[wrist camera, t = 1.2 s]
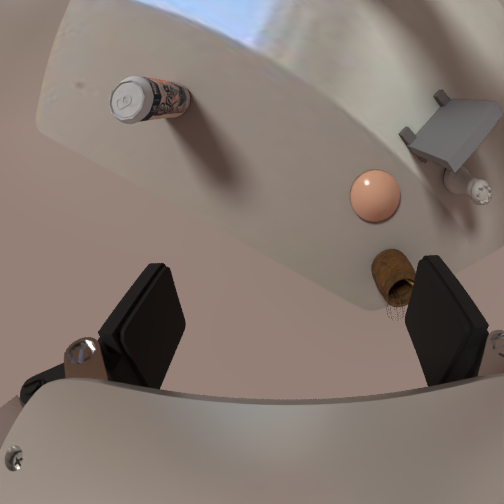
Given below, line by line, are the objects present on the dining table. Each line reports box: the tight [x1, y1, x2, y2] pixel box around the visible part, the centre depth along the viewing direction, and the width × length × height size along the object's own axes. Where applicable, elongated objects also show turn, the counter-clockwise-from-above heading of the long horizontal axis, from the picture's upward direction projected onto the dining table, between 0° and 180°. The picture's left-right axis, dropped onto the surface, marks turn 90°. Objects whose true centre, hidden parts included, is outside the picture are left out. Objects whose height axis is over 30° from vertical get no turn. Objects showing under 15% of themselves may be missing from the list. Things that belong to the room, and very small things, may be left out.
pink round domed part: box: [350, 170, 400, 222], centre depth 34 cm, size 7×7×1 cm
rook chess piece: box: [444, 165, 492, 205], centre depth 28 cm, size 4×4×8 cm
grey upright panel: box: [399, 90, 504, 173], centre depth 24 cm, size 10×5×11 cm, turn 141°
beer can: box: [109, 76, 190, 124], centre depth 26 cm, size 5×5×12 cm
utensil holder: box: [372, 249, 416, 320], centre depth 34 cm, size 6×6×12 cm
